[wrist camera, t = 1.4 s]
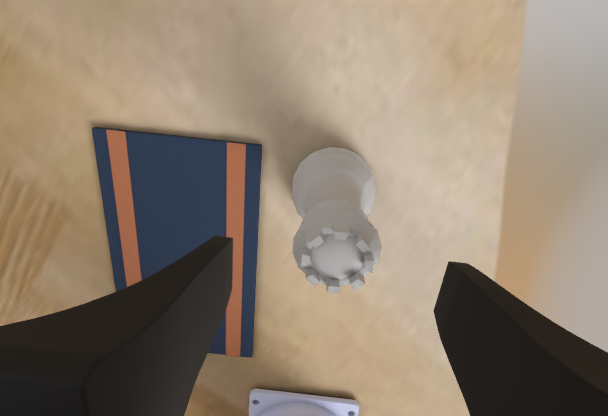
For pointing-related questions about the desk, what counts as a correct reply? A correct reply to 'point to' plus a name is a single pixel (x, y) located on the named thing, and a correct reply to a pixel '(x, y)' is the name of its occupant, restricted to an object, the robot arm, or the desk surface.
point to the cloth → (182, 212)
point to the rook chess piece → (335, 219)
